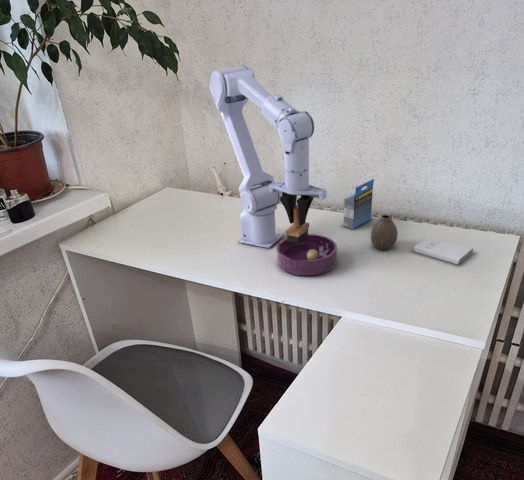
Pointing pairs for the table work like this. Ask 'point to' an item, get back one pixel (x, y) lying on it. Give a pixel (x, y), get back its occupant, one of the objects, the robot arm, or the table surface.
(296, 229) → the brush
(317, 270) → the bowl
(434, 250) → the hard drive
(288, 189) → the robot arm
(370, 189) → the tape cartridge
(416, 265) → the table surface
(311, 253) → the dough ball
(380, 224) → the vase
